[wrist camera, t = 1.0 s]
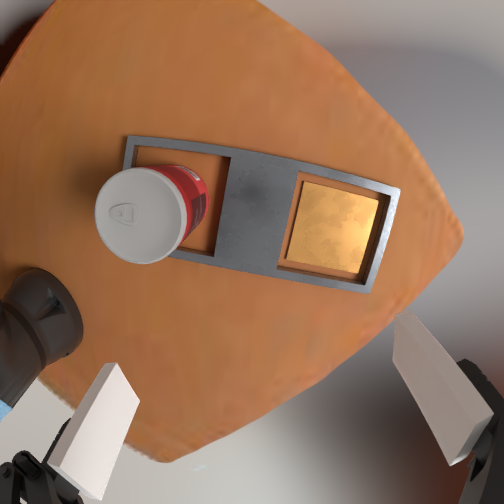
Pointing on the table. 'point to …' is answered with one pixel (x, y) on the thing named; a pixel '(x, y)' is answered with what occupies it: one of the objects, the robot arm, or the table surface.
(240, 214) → the rail frame
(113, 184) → the canned food
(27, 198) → the table surface
